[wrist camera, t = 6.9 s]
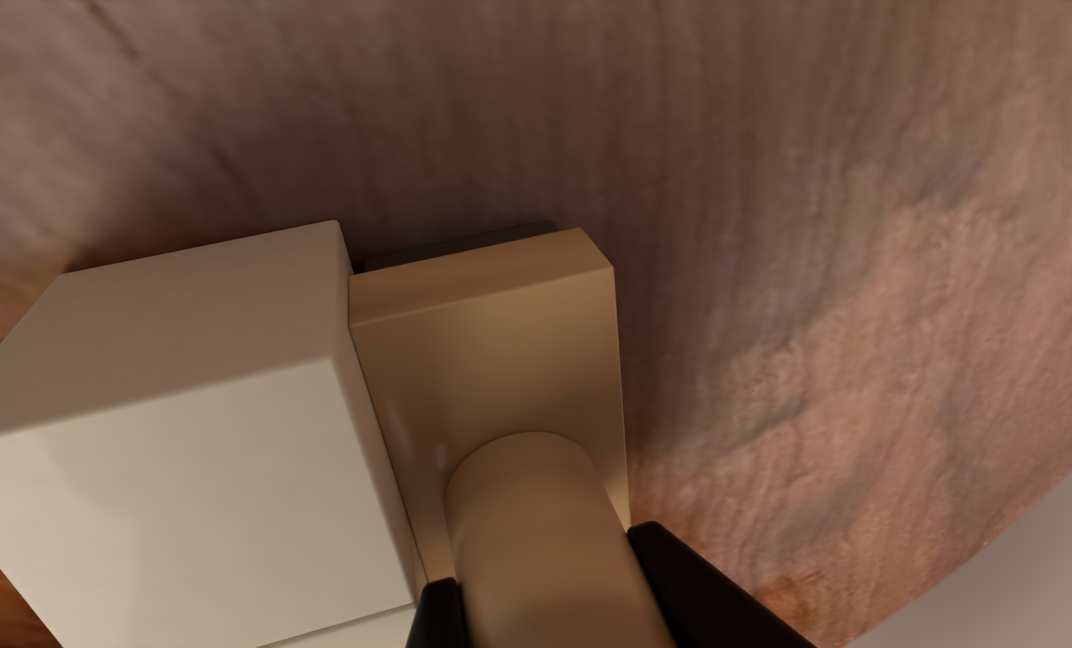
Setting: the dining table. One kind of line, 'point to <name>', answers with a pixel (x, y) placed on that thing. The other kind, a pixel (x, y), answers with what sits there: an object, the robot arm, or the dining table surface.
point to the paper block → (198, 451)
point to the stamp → (510, 432)
